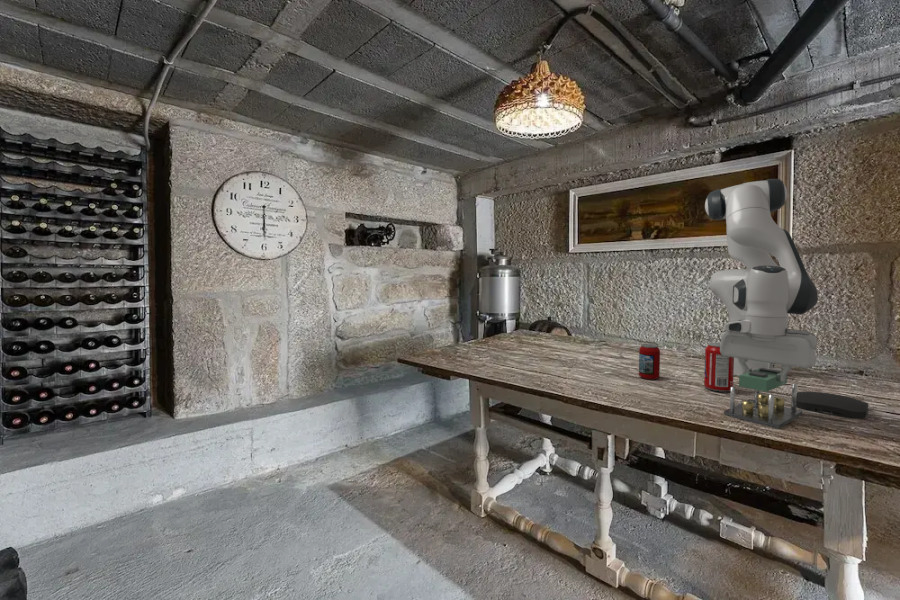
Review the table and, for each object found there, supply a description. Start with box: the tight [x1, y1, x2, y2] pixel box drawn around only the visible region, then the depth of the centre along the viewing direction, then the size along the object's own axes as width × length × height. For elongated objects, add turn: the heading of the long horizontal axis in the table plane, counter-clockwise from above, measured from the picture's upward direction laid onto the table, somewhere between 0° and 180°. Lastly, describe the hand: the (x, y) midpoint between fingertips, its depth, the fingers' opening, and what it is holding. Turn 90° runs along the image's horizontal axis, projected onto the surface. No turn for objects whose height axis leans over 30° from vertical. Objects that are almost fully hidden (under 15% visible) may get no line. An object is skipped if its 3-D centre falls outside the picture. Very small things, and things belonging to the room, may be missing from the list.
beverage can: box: [638, 343, 661, 381], centre depth 144 cm, size 7×7×12 cm
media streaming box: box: [796, 391, 869, 420], centre depth 112 cm, size 15×15×3 cm
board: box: [738, 368, 788, 393], centre depth 107 cm, size 14×6×4 cm, turn 123°
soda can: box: [703, 342, 735, 393], centre depth 129 cm, size 8×8×15 cm
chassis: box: [723, 382, 803, 430], centre depth 107 cm, size 17×12×8 cm
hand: (763, 378), depth 107 cm, fingers closed on board, 6 cm apart
